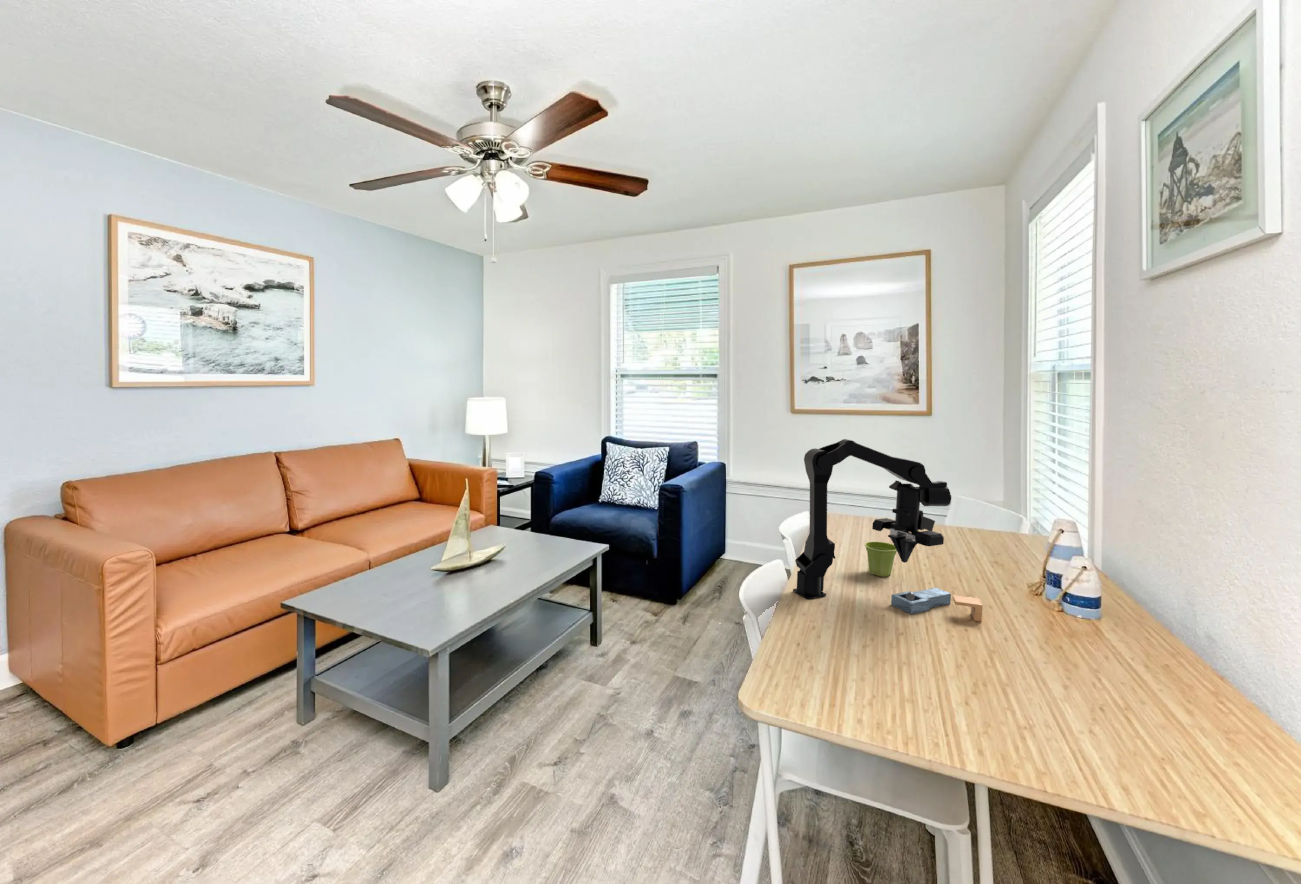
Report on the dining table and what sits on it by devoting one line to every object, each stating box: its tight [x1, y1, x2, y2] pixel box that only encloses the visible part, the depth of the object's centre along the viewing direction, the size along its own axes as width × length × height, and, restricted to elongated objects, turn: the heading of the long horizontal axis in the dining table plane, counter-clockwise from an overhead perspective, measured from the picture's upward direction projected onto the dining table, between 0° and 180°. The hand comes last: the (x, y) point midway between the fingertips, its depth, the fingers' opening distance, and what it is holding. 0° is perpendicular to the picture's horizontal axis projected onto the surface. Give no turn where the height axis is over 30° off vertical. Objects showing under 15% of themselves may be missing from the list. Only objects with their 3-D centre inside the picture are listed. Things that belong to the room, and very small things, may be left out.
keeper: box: [952, 594, 984, 622], centre depth 129 cm, size 6×4×4 cm
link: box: [890, 587, 952, 615], centre depth 135 cm, size 15×6×3 cm, turn 113°
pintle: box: [906, 591, 915, 601], centre depth 134 cm, size 2×2×4 cm
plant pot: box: [864, 541, 898, 578], centre depth 159 cm, size 9×9×9 cm
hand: (904, 562), depth 143 cm, fingers closed
